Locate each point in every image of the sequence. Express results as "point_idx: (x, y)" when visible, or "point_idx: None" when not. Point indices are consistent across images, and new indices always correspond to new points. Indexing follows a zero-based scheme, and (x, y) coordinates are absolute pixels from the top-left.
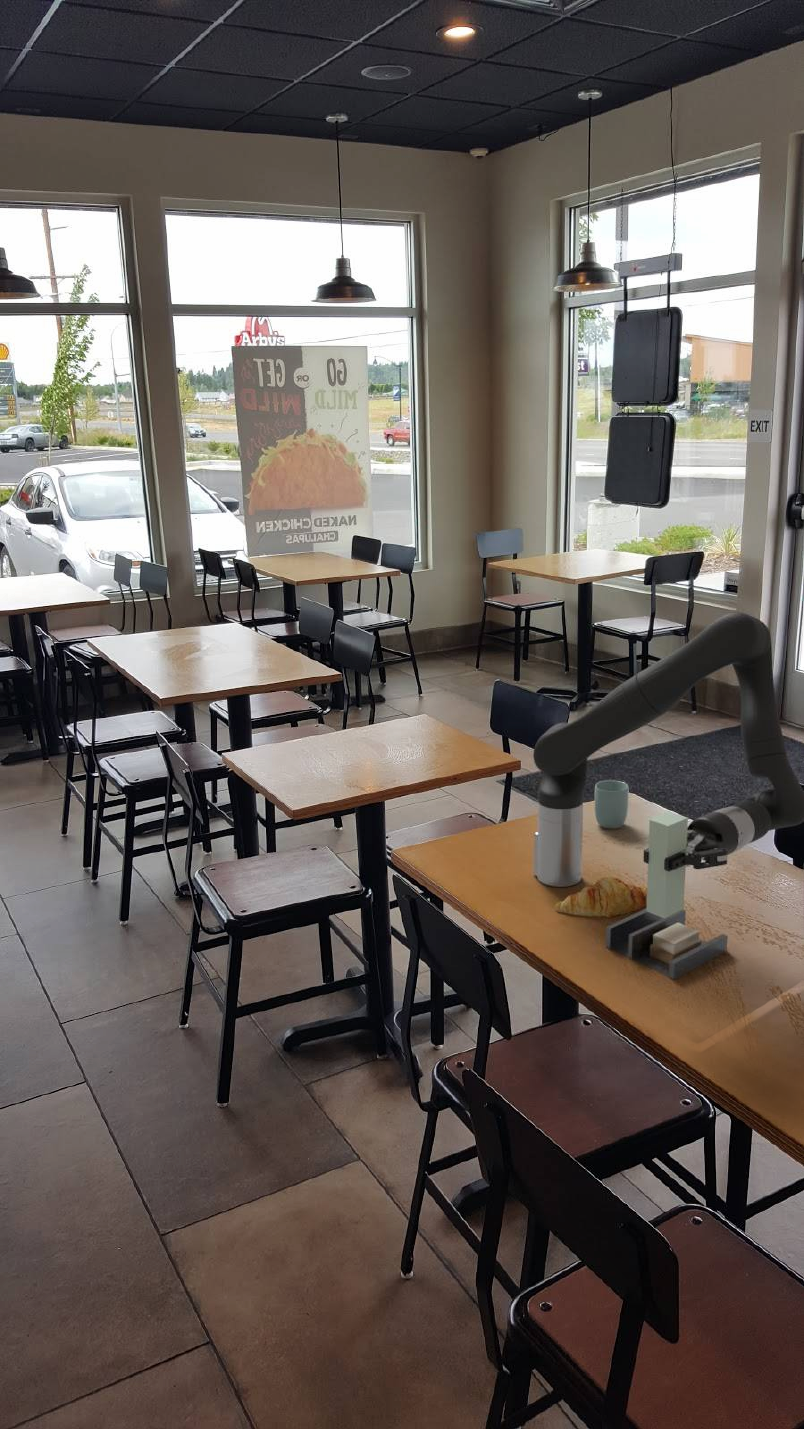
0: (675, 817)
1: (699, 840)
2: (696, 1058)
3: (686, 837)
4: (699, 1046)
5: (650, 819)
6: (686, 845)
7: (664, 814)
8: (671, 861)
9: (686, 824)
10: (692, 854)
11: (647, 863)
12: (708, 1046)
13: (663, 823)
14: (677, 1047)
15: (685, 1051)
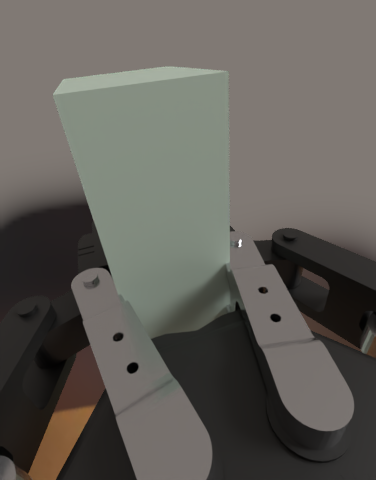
0: (118, 80)
1: (125, 391)
2: (50, 429)
3: (100, 238)
4: (64, 453)
5: (169, 66)
6: (114, 282)
7: (196, 70)
8: (89, 234)
9: (72, 148)
10: (73, 313)
11: None
12: (54, 469)
13: (98, 75)
14: (84, 418)
15: (71, 424)
